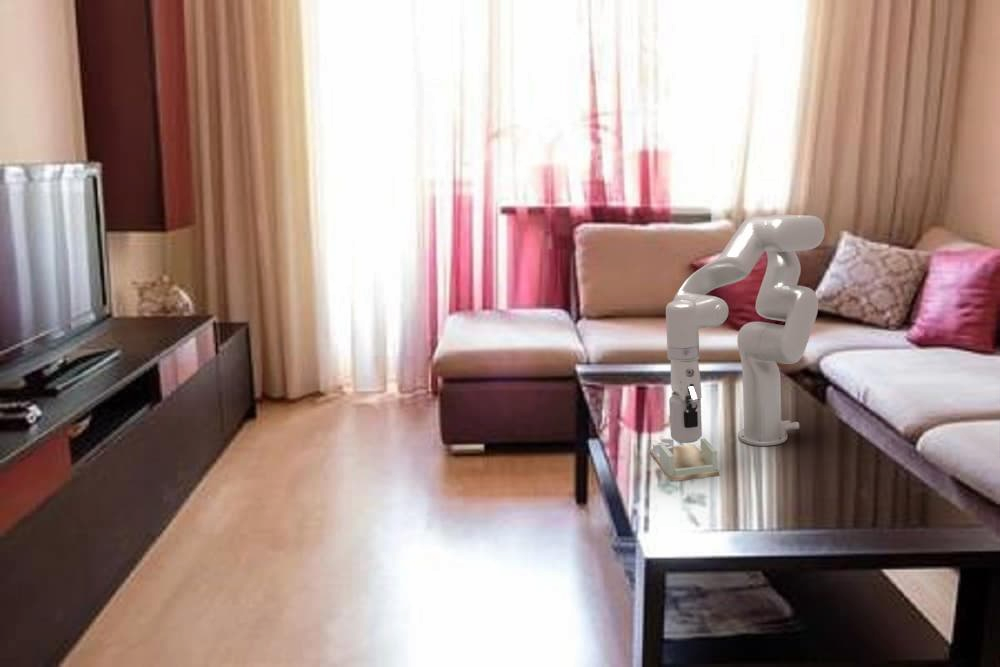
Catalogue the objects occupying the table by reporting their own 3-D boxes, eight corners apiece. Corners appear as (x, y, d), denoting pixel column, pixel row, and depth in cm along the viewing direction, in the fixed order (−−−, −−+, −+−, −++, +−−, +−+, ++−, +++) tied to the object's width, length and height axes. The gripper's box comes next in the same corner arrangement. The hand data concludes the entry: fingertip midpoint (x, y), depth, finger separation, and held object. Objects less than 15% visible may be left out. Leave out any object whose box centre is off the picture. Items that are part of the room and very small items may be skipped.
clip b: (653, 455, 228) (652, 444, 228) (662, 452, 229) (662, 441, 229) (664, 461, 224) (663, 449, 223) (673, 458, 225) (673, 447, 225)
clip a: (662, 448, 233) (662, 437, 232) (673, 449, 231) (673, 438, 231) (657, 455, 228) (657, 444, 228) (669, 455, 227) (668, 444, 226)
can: (702, 444, 213) (700, 396, 210) (670, 444, 215) (668, 397, 212) (701, 433, 220) (700, 387, 218) (671, 433, 222) (669, 388, 219)
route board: (694, 447, 234) (694, 444, 233) (719, 475, 215) (719, 471, 214) (649, 453, 233) (649, 449, 232) (671, 481, 214) (671, 477, 213)
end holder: (705, 457, 224) (705, 438, 223) (718, 471, 215) (718, 451, 214) (659, 462, 223) (658, 444, 222) (670, 477, 214) (669, 457, 213)
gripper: (710, 359, 204) (712, 431, 208) (687, 342, 221) (689, 409, 225) (678, 362, 204) (681, 435, 208) (658, 345, 221) (661, 412, 225)
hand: (685, 421), depth 217 cm, fingers closed on can, 7 cm apart
